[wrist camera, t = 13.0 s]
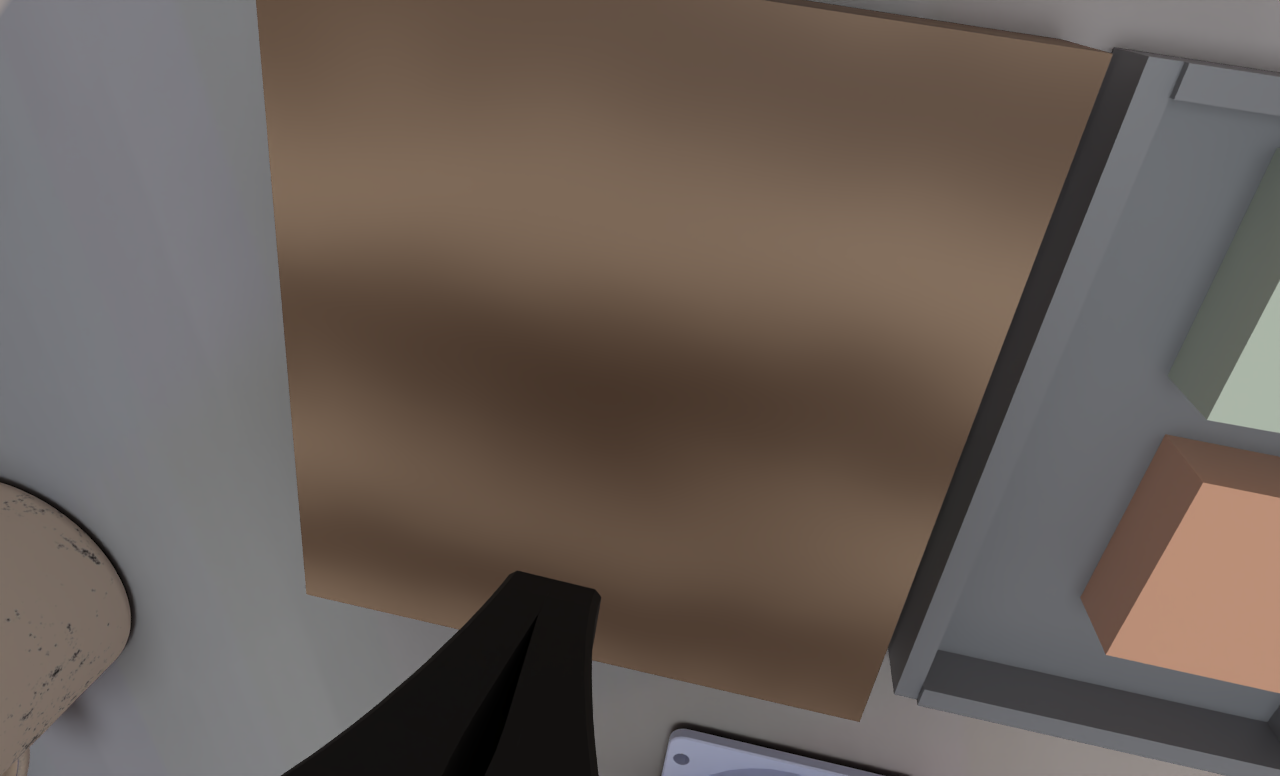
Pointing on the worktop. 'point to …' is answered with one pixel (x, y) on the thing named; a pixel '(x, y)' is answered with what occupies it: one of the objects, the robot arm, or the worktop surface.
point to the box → (1097, 432)
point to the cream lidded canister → (50, 620)
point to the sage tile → (1240, 324)
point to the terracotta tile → (1196, 567)
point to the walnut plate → (652, 307)
